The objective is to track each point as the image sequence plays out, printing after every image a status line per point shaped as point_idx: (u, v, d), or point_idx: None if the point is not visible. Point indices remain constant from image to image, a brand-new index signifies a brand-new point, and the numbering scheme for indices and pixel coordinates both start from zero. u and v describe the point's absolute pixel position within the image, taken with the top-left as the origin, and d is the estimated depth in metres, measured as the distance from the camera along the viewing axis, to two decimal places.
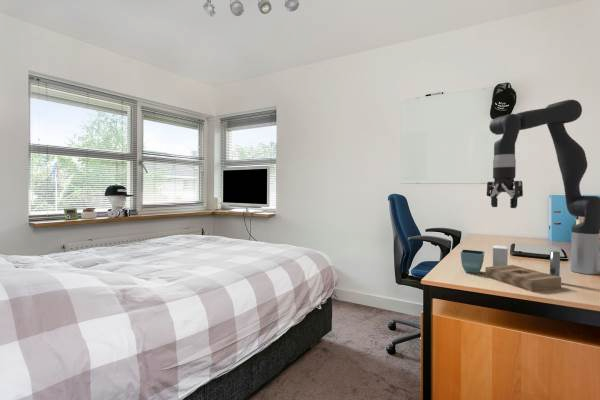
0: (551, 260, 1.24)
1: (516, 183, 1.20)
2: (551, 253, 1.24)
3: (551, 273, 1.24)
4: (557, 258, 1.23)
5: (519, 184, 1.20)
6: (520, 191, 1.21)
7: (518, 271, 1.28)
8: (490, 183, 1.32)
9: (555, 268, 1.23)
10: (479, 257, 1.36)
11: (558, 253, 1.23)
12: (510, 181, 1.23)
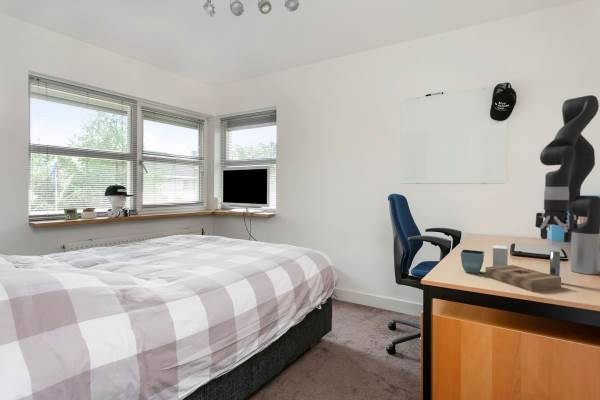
0: (551, 260, 1.24)
1: (571, 217, 1.17)
2: (551, 253, 1.24)
3: (551, 273, 1.24)
4: (557, 258, 1.23)
5: (574, 218, 1.17)
6: (575, 225, 1.18)
7: (518, 271, 1.28)
8: (540, 214, 1.29)
9: (555, 268, 1.23)
10: (479, 257, 1.36)
11: (558, 253, 1.23)
12: (564, 214, 1.20)
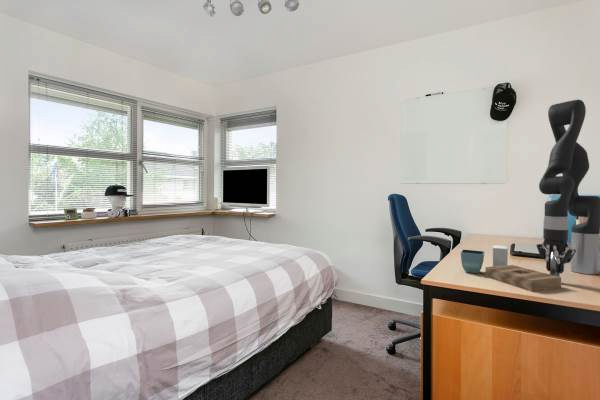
0: (551, 260, 1.24)
1: (569, 252, 1.18)
2: (551, 253, 1.24)
3: (551, 273, 1.24)
4: None
5: (571, 253, 1.18)
6: (569, 258, 1.20)
7: (518, 271, 1.28)
8: (540, 245, 1.29)
9: (555, 268, 1.23)
10: (479, 257, 1.36)
11: None
12: (564, 246, 1.20)
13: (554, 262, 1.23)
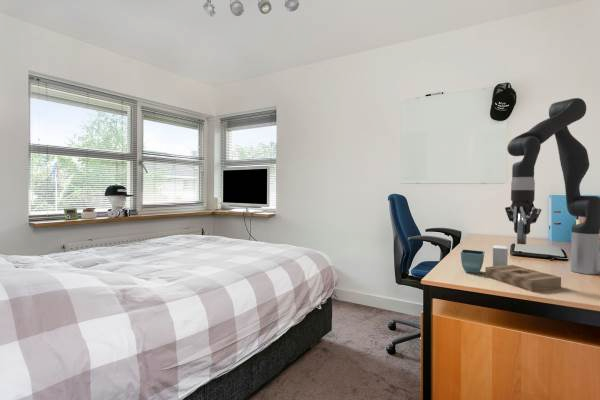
0: (518, 221, 1.25)
1: (534, 211, 1.18)
2: (518, 214, 1.25)
3: (518, 234, 1.25)
4: None
5: (537, 213, 1.19)
6: (535, 218, 1.20)
7: (518, 271, 1.28)
8: (508, 208, 1.29)
9: (521, 229, 1.23)
10: (479, 257, 1.36)
11: None
12: (530, 205, 1.20)
13: (521, 223, 1.24)
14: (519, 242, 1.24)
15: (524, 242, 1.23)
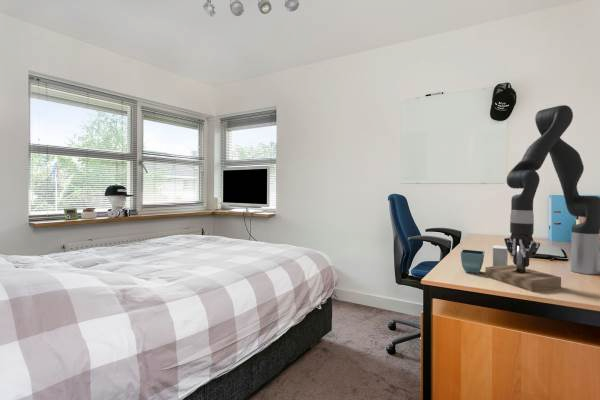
0: (517, 254, 1.25)
1: (533, 245, 1.19)
2: (517, 247, 1.25)
3: (517, 267, 1.25)
4: None
5: (536, 247, 1.19)
6: (534, 252, 1.21)
7: None
8: (507, 239, 1.30)
9: (520, 261, 1.24)
10: (479, 257, 1.36)
11: None
12: (529, 239, 1.21)
13: (520, 256, 1.24)
14: None
15: None
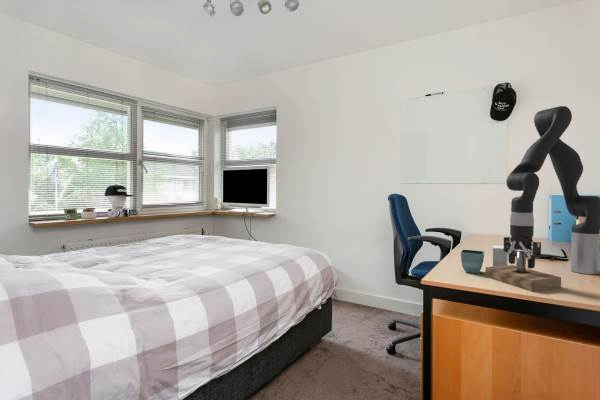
0: (517, 260, 1.25)
1: (535, 244, 1.18)
2: (517, 253, 1.25)
3: None
4: (523, 258, 1.24)
5: (538, 245, 1.18)
6: (538, 252, 1.19)
7: None
8: (507, 239, 1.30)
9: (520, 268, 1.24)
10: (479, 257, 1.36)
11: (524, 253, 1.24)
12: (528, 240, 1.21)
13: (520, 262, 1.24)
14: None
15: None
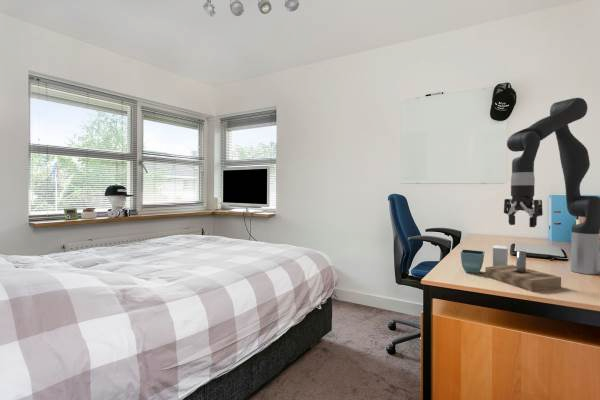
0: (517, 260, 1.25)
1: (536, 202, 1.18)
2: (517, 253, 1.25)
3: None
4: (523, 258, 1.24)
5: (539, 203, 1.18)
6: (540, 210, 1.19)
7: None
8: (507, 200, 1.30)
9: (520, 268, 1.24)
10: (479, 257, 1.36)
11: (524, 253, 1.24)
12: (529, 200, 1.21)
13: (520, 262, 1.24)
14: None
15: None
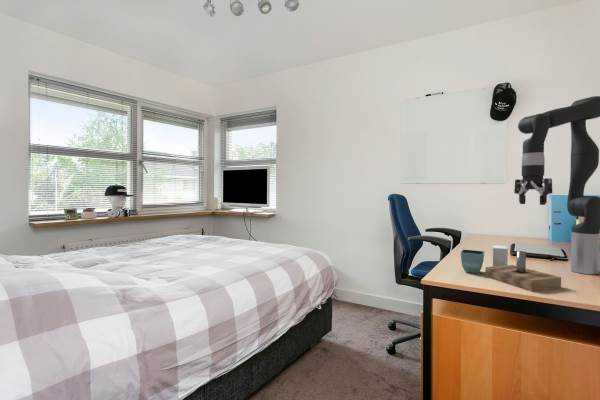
0: (517, 260, 1.25)
1: (546, 180, 1.24)
2: (517, 253, 1.25)
3: None
4: (523, 258, 1.24)
5: (549, 181, 1.24)
6: (550, 188, 1.25)
7: None
8: (518, 181, 1.36)
9: (520, 268, 1.24)
10: (479, 257, 1.36)
11: (524, 253, 1.24)
12: (539, 179, 1.27)
13: (520, 262, 1.24)
14: None
15: None
